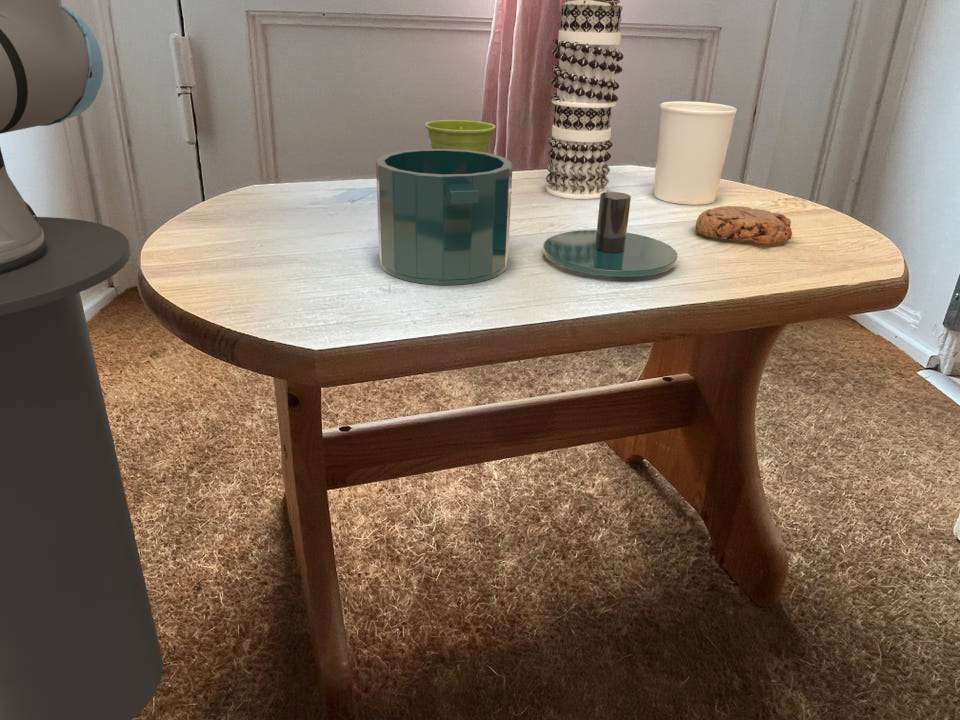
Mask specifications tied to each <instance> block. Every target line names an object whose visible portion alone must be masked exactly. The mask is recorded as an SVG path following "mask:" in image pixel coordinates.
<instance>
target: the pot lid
mask: <svg viewBox="0 0 960 720" xmlns="http://www.w3.org/2000/svg"><path fill="white" fill-rule="evenodd" d="M631 201H632V196H631V195H630V194H628V193H624V192H620V191H619V192H618V191H607V192H605V193H602V194H601V195H600V198H599V204H598V205H599V206H598V213H597V215H598V216H597V225H596V229H584V230H583V229H582V230H572V231H566V232H561V233H557V234H555V235H552V236H549V237H548V238H547V239H546V240H545V241H544V243H543V245H542V246H543V247H542V252H543V255H544V256H545V257H546V258H547V259H548V261H550V262H552V263H554V264H556V265H558V266H560V267H563V268H565V269H569V270H572V271H575V272H580V273H584V274H590V275H598V276H606V277H617V278H618V277H622V278H623V277H625V278H626V277H627V278H629V277H631V278H632V277H646V276H652V275H653V276H654V275H657V274H661V273H665V272H668V271H669V270H671V269H673V268H674V267H675V266H676V264H677V262H678V252H677V250H676V249H675V248H674V247H672V246H670V245H669V244H667V243H666V242H664V241H661V240H659V239H656V238H653V237H650V236H646V235H642V234H637V233H633V232H628V224H629V217H630V215H629V214H630V210H631V209H630V208H631Z"/></svg>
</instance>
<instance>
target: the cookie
mask: <svg viewBox="0 0 960 720" xmlns="http://www.w3.org/2000/svg"><path fill="white" fill-rule="evenodd" d="M791 220H792V219H790V218H789V217H787V216H786V215H785V214H783V213H779V212H773V213H772V211H769V210H766V209H758V208H751V207H749V206H743V205H741V206H740V205H739V206H738V205H724V206H717V207H713V208H709V209H706V210H703V211H702V212H701V213H700V214H699V215H698V216H697V218H696V222H695V232H696V233H699V234H701V235H703V236H704V237H705V236H706V237H709V238H710V237H714V238H719V239H725V240H726V241H729V240H730V241H738V240H749V239H750V240H752V242H755V243H757V244H771V243H777V242H788V241H789V240H791V239H792V237H793V231H792V227H791V226H792V225H791V224H792V221H791Z"/></svg>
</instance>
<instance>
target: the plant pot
mask: <svg viewBox="0 0 960 720" xmlns="http://www.w3.org/2000/svg"><path fill="white" fill-rule="evenodd" d="M424 127H425V129H427V132H428V139H429V140H430V143H431V144H430V145H431V149H455V150H470V151H477V152H484V153H488V151H489V147H490V146H489V145H490V142H491V140H492V136H493V131H495V130H496V125H495V124H493V123H490V122H489V123H488V122H484V121H479V120H467V119H440V120H431V121H427V122H425V123H424Z"/></svg>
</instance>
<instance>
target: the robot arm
mask: <svg viewBox="0 0 960 720" xmlns="http://www.w3.org/2000/svg"><path fill="white" fill-rule="evenodd" d="M103 77H104V62H103V56H102V51H101V48H100V45H99V42H98V40H97V37H96V36H95V34H94V32H93V31H92V29H91V28H90V26H89V25H88V24H87V23H86V21H84V19H83V18H81V17H79V16H77V15H76V14H75V13H74V12H73V10H70V9H69V8H67V7H66V6H64V5H59V2H58V0H0V135H1V134H5V133H11V132H15V131H20V130H25V129H30V128H31V129H32V128H36V127H39V126H40V127H48V126H51V125H55V124H60V123H62V122H64V121H66V120H67V119H71V118H75V117H77V116H79V115H80V114H82V113H84V112H85V111H86V110H87V109H88V108H90V107H91V106H92V104H93V103H94V102H95V101H96V99H97V95H98V92H99V90H100V89H101V86H102V84H103ZM35 217H36V218H37V217H38V216H37V214H36V213H35V211H34V210H33V208H32V207H31V205H29V203H28V202H26V201H25V200H24V197H22V195H21V193H20V191H19V190H18V189H17V187H16V185H15V184H14V183H13V181H12V179H11V178H10V176H9V173H8V171H7V167H6V164H5V161H4V157H3V153H2V148H1V147H0V274H3V273H7V272H10V271H13V270H16V269H19V268H22V267H24V266H27V265H29V264H31V263H33V262H35V261H37V260H38V259H40V258H41V257H42V256H43V255H45V253H46V252H47V245H46V241H45V237H44V233H43V229H42V228H41V227H40V225H39V223H38V222H37V220H36V218H35ZM37 219H38V218H37ZM38 220H39V219H38Z"/></svg>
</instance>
